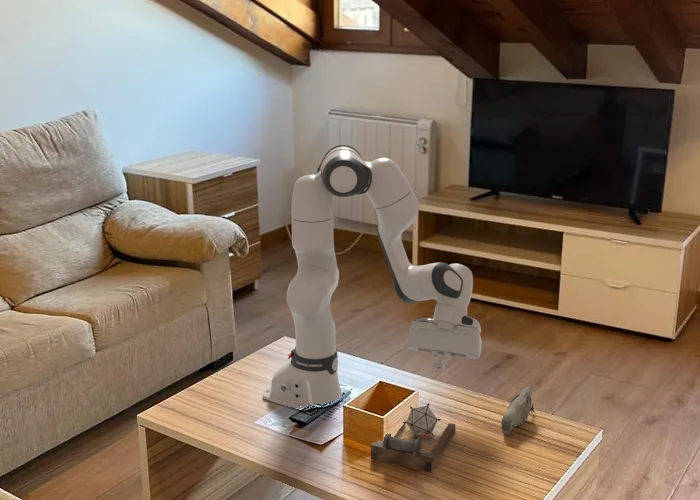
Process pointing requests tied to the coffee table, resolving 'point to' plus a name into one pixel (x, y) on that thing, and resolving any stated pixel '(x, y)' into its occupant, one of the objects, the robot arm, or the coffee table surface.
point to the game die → (421, 420)
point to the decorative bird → (517, 411)
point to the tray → (411, 450)
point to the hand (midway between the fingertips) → (438, 368)
